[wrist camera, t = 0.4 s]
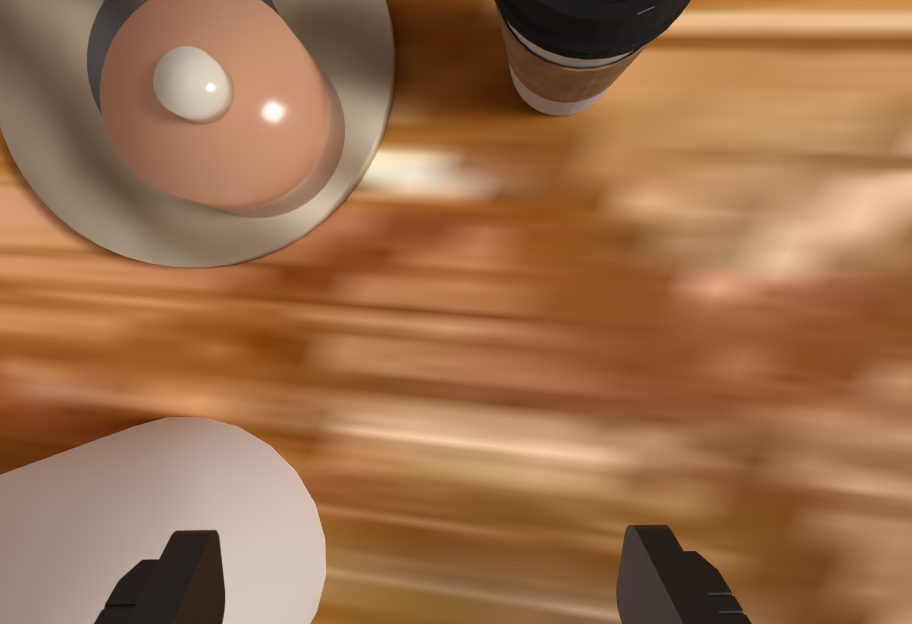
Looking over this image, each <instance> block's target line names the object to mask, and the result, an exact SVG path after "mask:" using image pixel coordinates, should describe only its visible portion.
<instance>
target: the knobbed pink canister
mask: <svg viewBox="0 0 912 624" xmlns="http://www.w3.org/2000/svg"><path fill="white" fill-rule="evenodd" d="M100 104H101V112H102V117H103V120H104V124H105V128H106V130H107V133H108V135H109V138H110V140H111V142H112V144H113V146H114V148H115V149H116V151H117V153H118V154H119V156H120V157H121V158H122V160H123V161H124V162H125V164H126V165H127V166H128V167H129V168H130V169H131V170H132V171H133V172H134V173H135V174H136V175H137V176H139V177H140V178H141V179H142V180H144V181H145V182H146V183H148V184H150V185H151V186H153V187H155V188H156V189H158V190H161V191H163V192H165V193H168V194H170V195H173V196H177V197H180V198H183V199H187V200H190V201H193V202H197V203H200V204H203V205H206V206H210V207H213V208H216V209H220V210H223V211H226V212H230V213H233V214H237V215H240V216H245V217H252V218H267V217H275V216H279V215H283V214H286V213H289V212H291V211H293V210H296V209H298V208H300V207H301V206H303V205H305V204H306V203H308V202H309V201H310V200H312V199H313V198H314V197H315V196H316V195H317V194H318V193H319V192H320V191H321V190H322V189H323V188H324V187H325V186H326V184H327V183H328V182H329V180H330V179H331V177H332V175H333V174H334V172H335V170H336V168H337V166H338V163H339V161H340V158H341V154H342V151H343V147H344V139H345V120H344V113H343V109H342V105H341V101H340V99H339V96H338V94H337V91H336V89H335V88H334V86H333V84H332V82H331V81H330V79H329V78H328V77H327V75H326V74H325V73H324V71H323V70H322V69H321V67H320V66H319V65H318V64H317V62H316V61H315V60H314V59H313V57H312V56H311V55H310V53H309V52H308V51H307V50H306V48H305V47H304V46H303V45H302V43H301V42H300V41H299V40H298V38H297V37H296V36H295V34H294V33H293V32H292V31H291V29H290V28H289V27H288V26H287V24H286V23H285V22H284V20H283V19H282V18H281V17H280V16H279V15H278V14H277V13H276V12H275V11H274V10H273V9H272V8H271V7H269V6H268V5H267V4H265V3H264V2H263V1H262V0H149V1H147V2H145V3H144V4H143V5H142V6H141V7H139V8H138V9H137V10H136V11H135V12H134V13H133V14H132V15H131V16H130V17H129V18H128V19H127V20H126V21H125V22H124V24H123V25H122V27H121V28H120V29H119V31H118V32H117V34H116V36H115V37H114V39H113V41H112V43H111V45H110V47H109V50H108V52H107V55H106V57H105V61H104V65H103V69H102V73H101V82H100Z"/></svg>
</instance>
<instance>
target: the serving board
mask: <svg viewBox="0 0 912 624" xmlns="http://www.w3.org/2000/svg"><path fill="white" fill-rule="evenodd" d="M147 1H149V0H0V128H1V131H2V133H3V136H4V138H5V141H6V143H7V146H8V148H9V151H10V153H11V155H12V157H13V159H14V160H15V162H16V164H17V166H18V168H19V169H20V171H21V173H22V175H23V176H24V178H25V179H26V180H27V182H28V183H29V184H30V186H31V187H32V189H33V190H34V191H35V193H36V194H37V195H38V197H39V198H40V199H41V200H42V201H43V202H44V203H45V204H46V205H47V206H48V207H49V208H50V209H51V210H52V211H53V212H54V214H55V215H56V216H58V217H59V218H60V219H61V220H63V221H64V222H65V223H66V224H68V225H69V226H70V227H71V228H73V229H74V230H75V231H76V232H78V233H79V234H81V235H83V236H84V237H86V238H88V239H89V240H91V241H93V242H94V243H96V244H97V245H99V246H102V247H104V248H106V249H108V250H111V251H113V252H115V253H117V254H120V255H122V256H125V257H129V258H132V259H136V260H139V261H142V262H146V263H151V264H158V265H165V266H172V267H183V268H215V267H223V266H231V265H237V264H241V263H245V262H249V261H252V260H256V259H260V258H263V257H265V256H267V255H270V254H272V253H275V252H277V251H279V250H282V249H284V248H286V247H288V246H289V245H291V244H293V243H295V242H296V241H298V240H300V239H301V238H303V237H305V236H306V235H308V234H309V233H310V232H312V231H313V230H314V229H316V228H317V227H318V226H319V225H321V224H322V223H323V222H325V221H326V220H327V219H328V218H329V217H330V216H331V215H332V214H333V213H334V212H335V211H336V210H337V209H338V208H339V207H340V206H341V205H342V204H343V203H344V202H345V201H346V200H347V198H348V197H349V196H350V194H351V193H352V192H353V190H354V189H355V188H356V187H357V185H358V184H359V183H360V181H361V180H362V178H363V176H364V175H365V173H366V171H367V170H368V168H369V166H370V164H371V163H372V161H373V159H374V157H375V155H376V153H377V150H378V148H379V145H380V143H381V141H382V138H383V136H384V133H385V130H386V127H387V123H388V119H389V116H390V112H391V108H392V103H393V96H394V89H395V81H396V49H395V40H394V32H393V25H392V21H391V17H390V13H389V9H388V5H387V1H386V0H262V1H263V2H264V3H265V4H267V5H268V6H269V7H271V8H272V9H273V10H274V11H275V12H276V13H277V14H278V15H279V16H280V17H281V18H282V19H283V20H284V22H285V23H286V24H287V26H288V27H289V28H290V29H291V31H292V32H293V33H294V34H295V36H296V37H297V38H298V40H299V41H300V42H301V43H302V45H303V46H304V47H305V48H306V50H307V51H308V52H309V53H310V55H311V56H312V57H313V59H314V60H315V61H316V62H317V64H318V65H319V66H320V67H321V69H322V70H323V71H324V73H325V74H326V75H327V77H328V78H329V79H330V81H331V82H332V84H333V86H334V88H335V89H336V91H337V94H338V96H339V99H340V101H341V105H342V109H343V113H344V120H345V139H344V147H343V151H342V154H341V158H340V161H339V163H338V166H337V168H336V170H335V172H334V174H333V175H332V177H331V179H330V180H329V182H328V183H327V184H326V186H325V187H324V188H323V189H322V190H321V191H320V192H319V193H318V194H317V195H316V196H315V197H314V198H313V199H312V200H310V201H309V202H308V203H306V204H305V205H303V206H301V207H300V208H298V209H296V210H293V211H291V212H289V213H286V214H283V215H279V216H275V217H267V218H252V217H245V216H240V215H237V214H233V213H230V212H226V211H223V210H220V209H216V208H213V207H210V206H206V205H203V204H200V203H197V202H193V201H190V200H187V199H183V198H180V197H177V196H173V195H170V194H168V193H165V192H163V191H161V190H158V189H156V188H155V187H153V186H151V185H150V184H148V183H146V182H145V181H144V180H142V179H141V178H140V177H139V176H137V175H136V174H135V173H134V172H133V171H132V170H131V169H130V168H129V167H128V166H127V165H126V164H125V162H124V161H123V160H122V158H121V157H120V156H119V154H118V153H117V151H116V149H115V148H114V146H113V144H112V142H111V140H110V138H109V135H108V133H107V130H106V128H105V124H104V120H103V117H102V112H101V104H100V82H101V73H102V69H103V65H104V61H105V57H106V55H107V52H108V50H109V47H110V45H111V43H112V41H113V39H114V37H115V36H116V34H117V32H118V31H119V29H120V28H121V27H122V25H123V24H124V22H125V21H126V20H127V19H128V18H129V17H130V16H131V15H132V14H133V13H134V12H135V11H136V10H137V9H138V8H139V7H141V6H142V5H143V4H144V3H145V2H147Z"/></svg>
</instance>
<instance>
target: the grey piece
mask: <svg viewBox="0 0 912 624" xmlns="http://www.w3.org/2000/svg"><path fill="white" fill-rule="evenodd" d="M177 530H217V532H218V534H219V538H220V547H221V556H222V566H223V575H224V584H225V611H224V618H223V623H222V624H310V623H311V621H312V619H313V618H314V616H315V614H316V612H317V609H318V605H319V601H320V597H321V593H322V589H323V585H324V581H325V577H326V560H325V537H324V534H323V530H322V527H321V523H320V519H319V516H318V512H317V509H316V505H315V503H314V501H313V499H312V498H311V496H310V494H309V493H308V491H307V489H306V487H305V486H304V484H303V482H302V481H301V479H300V477H299V476H298V474H297V472H296V471H295V470H294V469H293V468H292V467H291V466H290V465H289V464H288V463H287V462H286V461H285V460H284V459H283V458H282V457H281V456H280V455H279V454H278V453H277V452H276V451H275V450H274V449H273V448H272V447H271V446H270V445H269V444H267V443H265V442H263V441H262V440H260V439H258V438H257V437H255V436H253V435H252V434H250V433H248V432H246V431H245V430H243V429H241V428H240V427H237V426H234V425H230V424H226V423H223V422H219V421H216V420H212V419H208V418H205V417H166V418H162V419H159V420H155V421H152V422H148V423H144V424H141V425H137V426H133V427H131V428H128V429H125V430H122V431H120V432H117V433H114V434H111V435H109V436H106V437H103V438H100V439H98V440H95V441H92V442H89V443H86V444H84V445H81V446H78V447H75V448H73V449H70V450H67V451H64V452H62V453H59V454H56V455H53V456H51V457H48V458H45V459H42V460H39V461H37V462H34V463H31V464H28V465H26V466H23V467H20V468H17V469H15V470H12V471H9V472H6V473H4V474H1V475H0V624H94V622H95V621H96V619H97V617H98V616H99V614H100V612H101V610H104V607H105V603H106V602H107V600H108V598H109V596H110V595H111V593H112V591H113V589H114V588H115V586H116V584H117V582H118V581H119V580H120V579H121V578H122V577H123V576H124V575H125V574H126V573H128V572H129V571H130V570H131V569H132V568H133V567H134V566H135V565H137V564H138V563H139V562H140V561H141V560H147V559H159V558H160V556H161V554H162V552H163V551H164V549H165V547H166V545H167V543H168V541H169V539H170V537H171V535H172V534H173V533H174V532H175V531H177Z"/></svg>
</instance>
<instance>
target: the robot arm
mask: <svg viewBox="0 0 912 624" xmlns="http://www.w3.org/2000/svg"><path fill="white" fill-rule="evenodd" d="M616 596H617V605H618V611H619V615H620V618H621V621H622V624H751V622H750V620H749V619H748V617H747V616H746V615H744V614H743V609H742V608H741V606H740V604H739V603H738V601H737V600H736V598H735V597H734V596H732V592H731V590H730V589H729V587H728V585H727V584H726V582H725V581H724V579H723V577H722V576H721V574H720V573H719V571H718V570H717V569H716V568H715V567H714V566H713V565H711V564H710V563H709V562H708V561H707V560H705V559H704V558H703V557H702V556H701V555H700V554H698V553H697V552H696V551H683V550H682V548H681V546H680V544H679V543H678V541H677V539H676V538H675V536H674V534H673V532H672V531H671V529H670V528H669V527H668V526H667V525H630V526H628V527H627V529H626V532H625V537H624V543H623V549H622V555H621V561H620V568H619V574H618V580H617V589H616ZM224 611H225V584H224V575H223V566H222V556H221V547H220V538H219V534H218V532H217V530H177V531H175V532H174V533H173V534H172V535H171V537H170V539H169V541H168V543H167V545H166V547H165V549H164V551H163V552H162V554H161V556H160V558H159V559H147V560H141V561H140V562H139V563H138V564H137V565H135V566H134V567H133V568H132V569H131V570H130V571H129V572H128V573H126V574H125V575H124V576H123V577H122V578H121V579H120V580H119V581H118V582H117V584H116V586H115V588H114V589H113V591H112V593H111V595H110V596H109V598H108V600H107V602H106V603H105V607H104V610H101V612H100V614H99V616H98V617H97V619H96V621H95V622H94V624H222V623H223V618H224Z"/></svg>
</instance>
